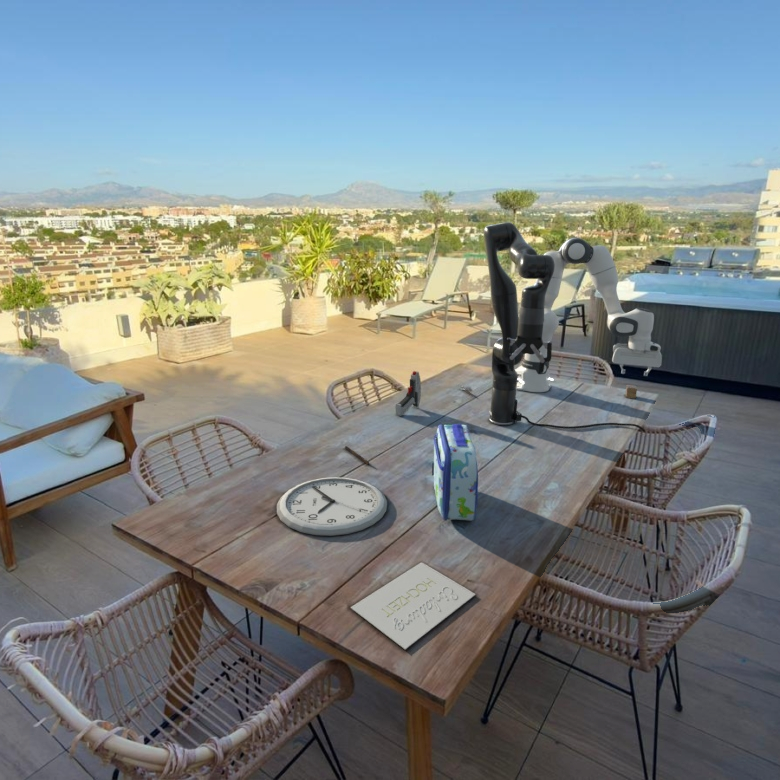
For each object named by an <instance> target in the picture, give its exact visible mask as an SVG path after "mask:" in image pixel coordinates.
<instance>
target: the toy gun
mask: <svg viewBox="0 0 780 780" xmlns="http://www.w3.org/2000/svg"><path fill="white" fill-rule="evenodd" d="M421 394H422V381H421V376H420V372H419V371H416V370H413V371H412V372H411V374H410V379H409V386H408V387H407V393H406V395H405V396H404V397H403V398H402V399H401V400H400V401H399V402H398V403H395V415H396V416H399V417H402V416H404V415H405V414H406V413H407V412H408V411H409V409H410V408H411V407H412V406H413V407H414V408H417V409H419V407H420V402H421V396H422V395H421Z"/></svg>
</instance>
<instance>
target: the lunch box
mask: <svg viewBox="0 0 780 780" xmlns="http://www.w3.org/2000/svg"><path fill="white" fill-rule="evenodd" d="M476 453H477V452H476V448H475V446H474V443H473V439H472V438H471V434H470V429H469V427H468V425H467V424H462V423H453V424H439V425H437V429H436V434H435V435H434V437H433V461H432V465H431V476H433V489H434V494H435V500H436V505H437V510H438V512H439V515H440V517H441V518H442V519H443V521H447V520H459V521H471V522H472V521H474V520H476V519H475V518H476V515H477V511H478V510H477V509H478V495H479V468H478V467H479V465H478V459H477V454H476Z"/></svg>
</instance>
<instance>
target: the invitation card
mask: <svg viewBox="0 0 780 780" xmlns="http://www.w3.org/2000/svg"><path fill="white" fill-rule="evenodd" d="M475 596H476V593H474V591H471V590H469V589H468V588H466V587H464V586H463V585H461V584H459V583H458V582H456V581H454V580H453V579H451V578H449V577H448V576H446V575H444V574H442V573H441V572H439V571H438V570H436V569H434V568H432V567H430V566H429V565H427V564H426V563H424V562H419V563H417V564H416V565H414V566H413V567H412V568H410V569H408V570H407V571H405V572H404V573H402V574H400V575H399V576H397V577H396V578H394V579H392V580H391V581H390V582H388V583H386V584H385V585H383V586H382V587H380V588H378V589H377V590H375V591H373V592H372V593H370V594H369V595H367V596H366V597H364V598H363V599H361V600H359V601H358V602H356V603H355V604H354V605H352V606H350V609H351V610H352V611H353V612H355V613H356V614H357V615H358V616H360V617H361V618H363V619H364V620H365V621H367V622H368V623H369V624H371V625H372V626H373V627H374V628H376V629H377V630H379V631H380V632H381V633H382V634H383V635H385V636H386V637H388V638H389V639H390V640H391V641H393V642H394V643H395V644H397V645H398V646H399V647H401V648H402V649H403V650H405V651H406V650H407V649H408V648H409V647H412V645H413V644H415V643H416V642H418V640H420V639H421V638H422V637H424V636H425V635H427V633H429V632H430V631H431V630H432V629H434V628H435V627H436V626H438V625H439V624H440V623H442V622H443V621H444V620H446V618H448V617H449V616H450V615H452V614H453V613H454V612H456V611H457V610H458V609H459V608H461V607H462V606H463V605H465V604H466V603H467V602H468V601H470V600H471V599H472V598H473V597H475Z"/></svg>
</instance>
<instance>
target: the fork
mask: <svg viewBox="0 0 780 780" xmlns="http://www.w3.org/2000/svg"><path fill="white" fill-rule="evenodd" d="M457 386H458V389H459V390H463V391H465V393H467V394H469V395H470V396H471V397H474V394H473V393H472V392H470V391H469V390H467V389H466V388H465V386H464V384H463V383H458V384H457Z"/></svg>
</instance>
